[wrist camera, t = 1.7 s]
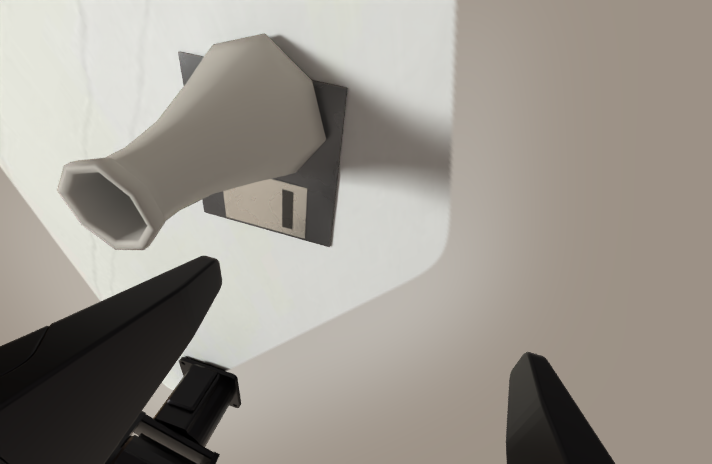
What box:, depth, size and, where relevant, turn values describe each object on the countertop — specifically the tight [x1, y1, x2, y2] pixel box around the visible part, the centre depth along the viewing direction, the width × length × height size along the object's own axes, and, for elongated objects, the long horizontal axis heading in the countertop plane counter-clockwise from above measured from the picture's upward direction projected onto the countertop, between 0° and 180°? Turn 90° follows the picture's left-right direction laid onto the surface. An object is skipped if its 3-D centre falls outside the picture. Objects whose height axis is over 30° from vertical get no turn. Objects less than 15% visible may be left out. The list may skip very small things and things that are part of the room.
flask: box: [57, 34, 326, 250], centre depth 15 cm, size 7×7×10 cm
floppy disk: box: [178, 52, 347, 247], centre depth 20 cm, size 10×9×1 cm
